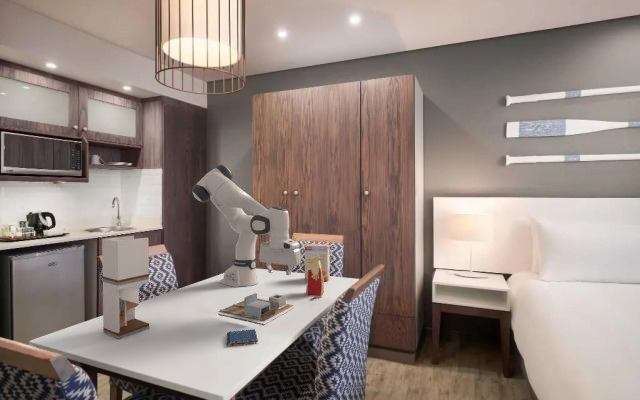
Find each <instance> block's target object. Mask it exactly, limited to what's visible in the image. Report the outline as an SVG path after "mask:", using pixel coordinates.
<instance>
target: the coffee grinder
mask: <svg viewBox="0 0 640 400" xmlns="http://www.w3.org/2000/svg"><path fill="white" fill-rule="evenodd" d="M101 241H102V242H101V244H102V245H101V246H102V247H101V249H102V251H101V252H102V254H101V258H102V260H101V262H102V316H103V317H102V320H103V321H102V322H103V323H102V326H103V327H102V328H103V331H102V333H103V334H105V335H107V336H110V337H111V338H114V339H117V340H122V339H125V338H127V337H129V336H133V335H135V334H138V333H143V332H144V331H147V330H149V329H150V323H149V322H146V321H143V320H140V319H137V318H136V316H135V315H136V312H135V311H136V309H135V308H136V307H138V306H139V305H140V302H139V301H140V299H139V298H140V297H139V296H140V295H139V286H141V285H145V284H149V282H150V273H149V272H150V267H149V265H150V261H149V259H150V258H149V257H150V255H149V253H150V252H149V250H150V249H149V237H140V238H135V235H126V236H117V237H116V236H115V237H107V238H102V239H101Z"/></svg>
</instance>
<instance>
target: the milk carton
mask: <svg viewBox="0 0 640 400" xmlns="http://www.w3.org/2000/svg"><path fill="white" fill-rule="evenodd" d="M319 258H320V256H317V257H314V258H308V259H306V260H307V263H308V278H307V280H306V288H305V296H310V297H313V298H323V296H324V294H325V281H324V280H323V273H322V268H321V264H320V259H319Z"/></svg>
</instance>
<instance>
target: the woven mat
mask: <svg viewBox="0 0 640 400" xmlns="http://www.w3.org/2000/svg"><path fill="white" fill-rule="evenodd" d="M257 343H258V337H257V332H256V330H255V328H253V329H252V328H251V329H241V330H236V331H235V330H233V331H232V330H230V331H228V332H226V347H231V346H232V347H234V346H236V347H237V346H241V345H242V346H244V345H246V346H247V345H251V344H252V345H254V344H256V345H257Z"/></svg>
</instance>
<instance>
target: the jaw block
mask: <svg viewBox="0 0 640 400" xmlns="http://www.w3.org/2000/svg"><path fill="white" fill-rule="evenodd" d="M286 297H287V295H282V294H278V293H277V294H274V295H271V296H269V297H268V301H269V303H270V307H275V308H281V307H282V306H284V305H286V304H287V299H286Z"/></svg>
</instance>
